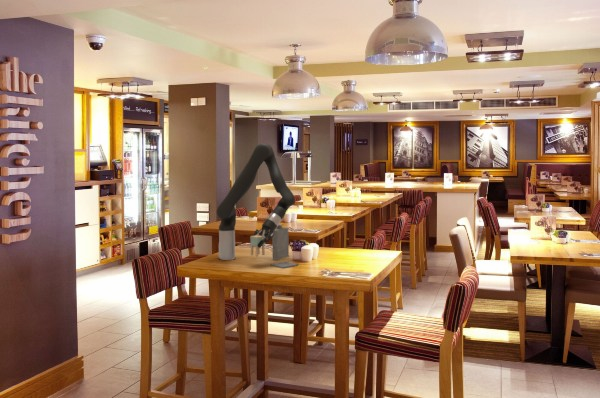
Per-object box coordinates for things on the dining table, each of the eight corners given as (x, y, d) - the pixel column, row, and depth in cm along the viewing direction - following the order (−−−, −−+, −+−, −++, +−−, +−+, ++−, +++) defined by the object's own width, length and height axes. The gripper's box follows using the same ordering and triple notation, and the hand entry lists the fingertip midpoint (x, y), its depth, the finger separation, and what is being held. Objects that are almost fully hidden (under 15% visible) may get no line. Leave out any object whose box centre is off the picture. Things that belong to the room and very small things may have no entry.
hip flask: (276, 260, 360) (275, 226, 359) (270, 259, 362) (269, 226, 361) (289, 256, 374) (289, 223, 373) (283, 255, 376) (283, 222, 375)
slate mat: (270, 265, 345) (270, 264, 345) (285, 263, 352) (285, 261, 352) (283, 268, 337) (283, 266, 336) (298, 265, 344) (298, 264, 344)
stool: (250, 255, 342) (250, 236, 341) (258, 253, 346) (258, 235, 345) (256, 256, 338) (256, 237, 337) (264, 255, 342) (264, 236, 341)
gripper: (260, 217, 350) (243, 240, 343) (276, 219, 340) (259, 243, 333) (267, 225, 354) (250, 248, 347) (283, 228, 344) (267, 252, 337)
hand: (255, 246), depth 340 cm, fingers closed on stool, 5 cm apart
